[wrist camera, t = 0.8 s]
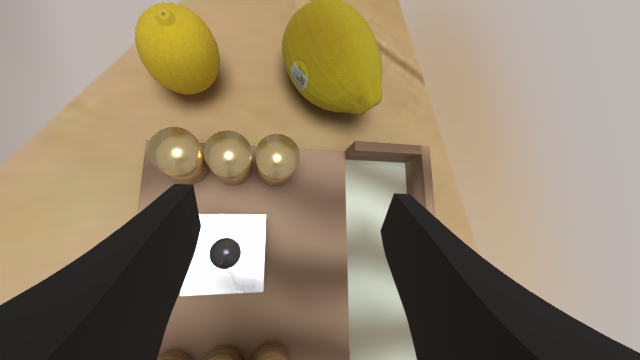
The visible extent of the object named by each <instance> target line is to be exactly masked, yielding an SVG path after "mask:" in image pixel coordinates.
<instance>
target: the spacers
mask: <svg viewBox="0 0 640 360" xmlns="http://www.w3.org/2000/svg"><path fill="white" fill-rule="evenodd" d="M147 152H148V157H149V159H150V161H151V163H152V164H153V165H154V166H155V167H156V168H158V169H159V170H161V171H163V172H164V173H166V174H167V175H169V176H170V177H172V178H173V179H175V180H177V181H178V182H180V183H183V184H195V183H198V182H200V181H202V180H203V179H204V178H205V177H206V176H207V175H208V173H209V171H210V169H211V170H212V171H213V173H214V174H215V175H216V177H217V178H218V179H219V180H220V181H221V182H222V183H224V184H227V185H231V186H236V185H240V184H243V183H244V182H246V181H247V180H248V179H249V178H250V176H251V174H252V171H253V163H252V154H251V147H250V145H249V143H248V141H247V140H246V138H245V137H243V136H242V135H241V134H239V133H237V132H233V131H221V132H218V133H216V134H214V135H213V136H211V137H210V138H209V139H208V141H207V142H206V144H205V147H204V150H203V148H202V147H201V145H200V144H199V142H198V141H197V139H196V138H195V137H194V135H193V134H192V133H190V132H189V131H187V130H185V129H183V128H179V127H169V128H165V129H162V130H160V131H159V132H157V133H156V134H155V135H154V136H153V137H152V138H151V140H150V142H149V144H148V149H147ZM299 159H300V153H299V149H298V147H297V145H296V143H295V142H294V141H293V140H292V139H290V138H289V137H287V136H285V135H281V134H273V135H269V136H267V137H265V138H264V139H262V140H261V141H260V143H259V144H258V146H257V148H256V171H257V175H258V177H259V179H260V180H261V181H262V182H263V183H264V184H266V185H268V186H271V187H279V186H282V185H284V184H286V183H287V182H288V181H289V180H290V178H291V176H292V174H293V173H294V171H295V169H296V167H297V165H298V163H299ZM157 360H193V358H192V356H191V355H190V354H189V353H188V352H186V351H184V350H182V349H170V350H167V351H164V352H162V353H161V354H159V355H158V358H157ZM203 360H244V358H243V355H242V353H241V352H240V351H239V350H238V349H237V348H236V347H234V346H232V345H227V344H224V345H219V346H216V347H214V348H213V349H211V350H210V351H209V352H208V353H207V354H206V355H205V357H204V358H203ZM249 360H291V358H290V354H289V352H288V350H287V348H286V347H285V346H284V345H283V344H282V343H280V342H278V341H266V342H263V343H261V344H260V345H259V346H257V347H256V348H255V350H254V351H253V352H252V354H251V356H250V359H249Z"/></svg>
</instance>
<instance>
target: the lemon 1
mask: <svg viewBox="0 0 640 360" xmlns="http://www.w3.org/2000/svg"><path fill="white" fill-rule="evenodd" d="M135 41H136V46H137V49H138V53H139V56H140V58H141V61H142V63H143V64H144V66H145V67H146V69H147V70H148V72H149V73H150V75H151V76H152V77H153V78H154V79H155V80H157V81H158V82H159V83H160V84H161V85H162V86H164V87H166V88H168V89H169V90H171V91H174V92H177V93H181V94H195V93H199V92H202V91H204V90H206V89H207V88H208V87H210V86H211V85H212V83H213V82H214V81H215V79H216V77H217V75H218V72H219V65H220V56H219V51H218V47H217V43H216V41H215V39H214V37H213V35H212V33H211V31H210V30H209V28H208V26H207V25H206V24H205V23H204V22H203V20H202V19H201V18H200V17H199V16H198V15H197V14H195V13H194V12H192V11H191V10H190V9H188V8H186V7H183V6H181V5H177V4H173V3H161V4H156V5H154V6H152V7H149V8H148V9H147V10H145V11H144V12H143V13H142V15H141V16H140V17H139V19H138V22H137V25H136V28H135Z"/></svg>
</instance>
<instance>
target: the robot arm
mask: <svg viewBox="0 0 640 360" xmlns="http://www.w3.org/2000/svg"><path fill="white" fill-rule="evenodd" d="M200 230H201V222H200V217H199V212H198V207H197V201H196V196H195V191H194V186H193V184H173V185H172V186H171V187H170V188H168V189H167V190H166V191H165V192H164V193H162V194H161V195H160V196H159V197H158V198H156V199H155V200H154V201H153V202H152V203H150V204H149V205H148V206H147V207H146V208H144V209H143V210H142V211H141V212H140V213H138V214H137V215H136V216H135V217H133V218H132V219H131V220H130V221H128V222H127V223H126V224H125V225H123V226H122V227H121V228H119V229H118V230H117V231H115V232H114V233H113V234H111V235H110V236H108V237H107V238H106V239H104V240H103V241H102V242H100V243H99V244H98V245H96V246H95V247H94V248H92V249H91V250H89V251H88V252H87V253H85V254H84V255H82V256H81V257H79V258H78V259H76V260H75V261H73V262H72V263H70V264H69V265H67V266H65V267H64V268H62V269H61V270H59V271H58V272H56V273H54V274H53V275H51V276H50V277H48V278H47V279H45V280H43V281H42V282H40V283H38V284H37V285H35V286H33V287H31V288H30V289H28V290H26V291H24V292H23V293H21V294H19V295H17V296H16V297H14V298H12V299H10V300H9V301H7V302H5V303H3V304H2V305H0V360H157V358H158V355H159V351H160V348H161V344H162V341H163V337H164V334H165V330H166V327H167V324H168V321H169V318H170V316H171V313H172V310H173V308H174V305H175V303H176V300H177V298H178V295H179V293H180V290H181V288H182V285H183V282H184V280H185V277H186V275H187V272H188V270H189V267H190V264H191V262H192V259H193V257H194V254H195V251H196V247H197V243H198V239H199V235H200ZM380 232H381V237H382V243H383V247H384V252H385V256H386V259H387V262H388V265H389V268H390V271H391V274H392V277H393V280H394V282H395V285H396V288H397V291H398V294H399V297H400V299H401V302H402V305H403V308H404V311H405V314H406V317H407V321H408V324H409V328H410V332H411V336H412V340H413V345H414V349H415V353H416V357H417V360H640V353H638V352H636V351H634V350H633V349H631V348H629V347H627V346H625V345H623V344H621V343H619V342H617V341H615V340H612V339H611V338H609V337H607V336H605V335H603V334H601V333H599V332H598V331H596V330H594V329H592V328H591V327H589V326H587V325H585V324H584V323H582V322H580V321H578V320H576V319H575V318H573V317H571V316H569V315H568V314H566V313H564V312H563V311H561V310H559V309H558V308H556V307H554V306H552V305H551V304H549V303H548V302H546V301H545V300H543V299H541V298H540V297H538V296H537V295H535V294H533V293H532V292H530V291H529V290H527V289H526V288H524V287H523V286H521V285H520V284H518V283H516V282H515V281H514V280H512V279H511V278H510V277H508V276H507V275H505V274H504V273H503V272H501V271H500V270H498V269H497V268H496V267H494V266H493V265H492V264H490V263H489V262H488V261H486V260H485V259H484V258H482V257H481V256H480V255H479V254H477V253H476V252H475V251H474V250H472V249H471V248H470V247H469V246H468V245H466V244H465V243H464V242H463V241H462V240H460V239H459V238H458V237H457V236H456V235H455V234H453V233H452V232H451V231H450V230H449V229H448V228H447V227H446V226H444V225H443V224H442V223H441V222H440V221H439V220H438V219H437V218H436V217H435V216H433V215H432V214H431V213H430V212H429V211H428V210H427V209H426V208H425V207H424V206H422V205H421V204H420V203H419V202H418V201H417V200H416V199H415V198H413V197H412V196H411V195H410V194H399V193H394V194H393V197H392V200H391V203H390V205H389V208H388V211H387V214H386V216H385V219H384V222H383V225H382V228H381V230H380Z"/></svg>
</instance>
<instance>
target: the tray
mask: <svg viewBox="0 0 640 360" xmlns="http://www.w3.org/2000/svg"><path fill="white" fill-rule="evenodd" d="M149 142H150V140H146V147H145V156H144V164H143V172H142V180H141V188H140V196H139V205H138V213H140V212H141V211H142V210H143V209H144V208H146V207H147V206H148V205H149V204H150V203H152V202H153V201H154V200H155V199H156V198H158V197H159V196H160V195H161V194H162V193H164V192H165V191H166V190H167V189H168V188H170V187H171V186H172V185H173V184H183V183H180V182H178V181H177V180H175V179H173V178H172V177H170V176H169V175H167V174H166V173H164V172H163V171H161V170H159V169H158V168H156V167H155V166H154V165H153V164H152V163H151V161H150V159H149V157H148V152H147V149H148V144H149ZM199 144H200V145H201V147H202V148H203V150H204V147H205V144H206V143H199ZM250 147H251V154H252V163H253V171H252V174H251V176H250V178H249V179H248V180H247V181H246V182H244V183H243V184H240V185H236V186H231V185H227V184H224V183H222V182H221V181H220V180H219V179H218V178H217V177H216V175H215V174H214V173H213V171H212V170H211V169H210V171H209V173H208V175H207V176H206V177H205V178H204V179H203V180H202V181H200V182H198V183H195V184H193V186H194V191H195V196H196V201H197V207H198V212H199V214H238V215H266V226H265V257H264V288H263V292H253V293H232V294H212V295H191V296H180V293H179V295H178V298H177V300H176V303H175V305H174V308H173V310H172V313H171V316H170V318H169V321H168V324H167V327H166V330H165V334H164V337H163V341H162V344H161V348H160V351H159V354H161V353H162V352H164V351H167V350H170V349H182V350H184V351H186V352H188V353H189V354H190V355H191V356H192V358H193V360H203V358H204V357H205V355H206V354H207V353H208V352H209V351H210V350H211V349H213V348H214V347H216V346H219V345H224V344H227V345H232V346H234V347H236V348H237V349H238V350H239V351H240V352H241V353H242V355H243V358H244V360H249V359H250V356H251V354H252V352H253V351H254V350H255V348H256V347H257V346H259V345H260V344H261V343H263V342H266V341H278V342H280V343H282V344H283V345H284V346H285V347H286V348H287V350H288V352H289V354H290V358H291V360H417V357H416V353H415V349H414V345H413V340H412V336H411V332H410V328H409V324H408V321H407V317H406V314H405V311H404V308H403V305H402V302H401V299H400V297H399V294H398V291H397V288H396V285H395V282H394V280H393V277H392V274H391V271H390V268H389V265H388V262H387V259H386V256H385V252H384V247H383V243H382V237H381V232H380V230H381V228H382V225H383V222H384V219H385V216H386V214H387V211H388V208H389V205H390V203H391V200H392V197H393V194H394V193H399V194H410V195H411V196H412V197H413V198H415V199H416V200H417V201H418V202H419V203H420V204H421V205H422V206H424V207H425V208H426V209H427V210H428V211H429V212H430V213H431V214H432V215H433V216H435V206H434V194H433V183H432V171H431V160H430V149H429V146H419V145H404V144H389V143H374V142H360V141H355V142H354V143H353V144H352V145H351V146H350V147H349V148H348V149H347V150H346V151H345V152H344V151H327V150H310V149H299V153H300V159H299V163H298V165H297V167H296V169H295V171H294V173H293V174H292V176H291V178H290V180H289V181H288V182H287V183H286V184H284V185H282V186H279V187H271V186H268V185H266V184H264V183H263V182H262V181H261V180H260V179H259V177H258V175H257V171H256V148H257V146H250ZM138 213H137V214H138ZM180 292H181V290H180Z"/></svg>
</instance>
